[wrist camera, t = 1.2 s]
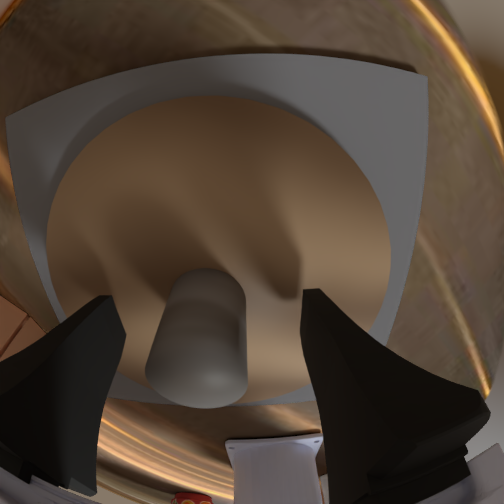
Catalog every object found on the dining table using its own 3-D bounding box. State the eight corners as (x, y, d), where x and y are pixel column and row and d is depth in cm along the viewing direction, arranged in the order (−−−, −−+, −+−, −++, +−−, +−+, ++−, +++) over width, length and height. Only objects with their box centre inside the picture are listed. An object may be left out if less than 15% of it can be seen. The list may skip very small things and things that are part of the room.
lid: (350, 382, 15) (371, 447, 11) (112, 385, 15) (92, 446, 11) (398, 104, 8) (489, 110, 4) (27, 139, 8) (-55, 165, 4)
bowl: (110, 419, 18) (99, 457, 14) (14, 391, 18) (0, 418, 14) (35, 292, 12) (-2, 337, 9) (-50, 286, 12) (-75, 313, 8)
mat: (365, 385, 16) (367, 391, 16) (104, 391, 16) (102, 396, 15) (420, 77, 8) (427, 76, 8) (12, 116, 8) (5, 117, 7)
